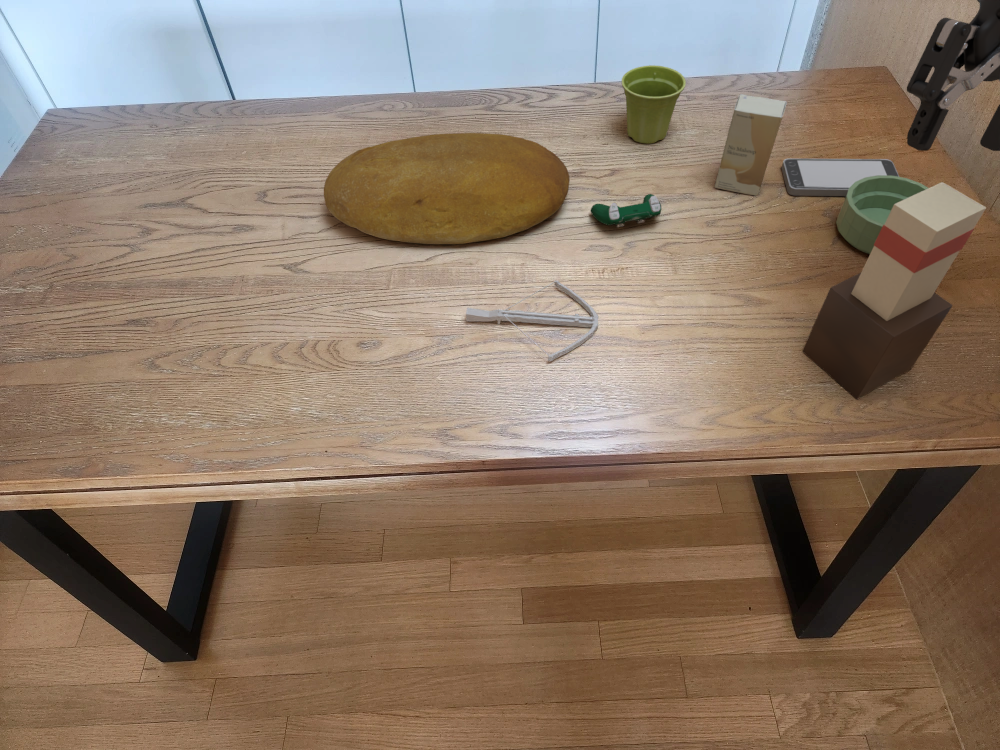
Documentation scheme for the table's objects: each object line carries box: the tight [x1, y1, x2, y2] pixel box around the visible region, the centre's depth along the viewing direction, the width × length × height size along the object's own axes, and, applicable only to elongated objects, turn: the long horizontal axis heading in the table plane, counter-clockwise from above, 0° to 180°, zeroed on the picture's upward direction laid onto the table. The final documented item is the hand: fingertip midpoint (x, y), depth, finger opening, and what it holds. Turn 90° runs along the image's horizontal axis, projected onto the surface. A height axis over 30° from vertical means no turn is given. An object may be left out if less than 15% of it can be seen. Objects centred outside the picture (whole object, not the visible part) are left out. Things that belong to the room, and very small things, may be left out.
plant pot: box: [621, 64, 687, 145], centre depth 102 cm, size 9×9×9 cm
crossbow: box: [465, 280, 599, 362], centre depth 80 cm, size 16×13×2 cm
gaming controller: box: [590, 193, 662, 228], centre depth 91 cm, size 9×4×6 cm
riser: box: [802, 272, 953, 400], centre depth 70 cm, size 8×8×10 cm
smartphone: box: [780, 158, 900, 197], centre depth 94 cm, size 7×1×15 cm
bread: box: [323, 132, 570, 245], centre depth 92 cm, size 18×35×10 cm, turn 93°
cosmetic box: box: [714, 93, 788, 197], centre depth 91 cm, size 6×4×12 cm
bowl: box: [835, 175, 929, 255], centre depth 85 cm, size 11×11×5 cm
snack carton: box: [851, 181, 987, 321], centre depth 62 cm, size 5×6×11 cm
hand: (954, 148), depth 62 cm, fingers open, 8 cm apart
